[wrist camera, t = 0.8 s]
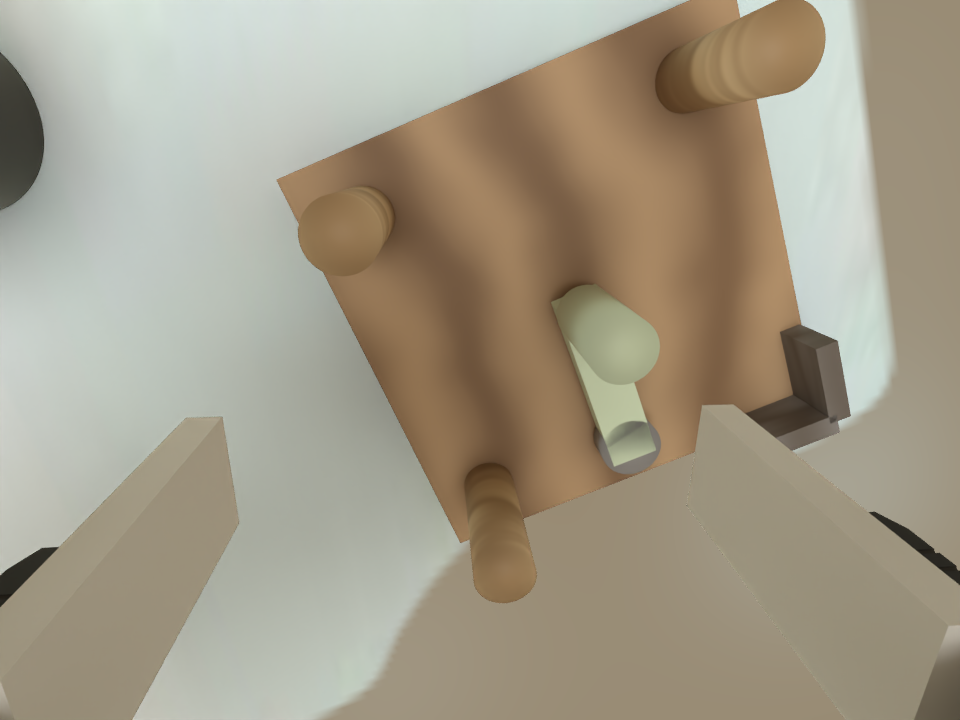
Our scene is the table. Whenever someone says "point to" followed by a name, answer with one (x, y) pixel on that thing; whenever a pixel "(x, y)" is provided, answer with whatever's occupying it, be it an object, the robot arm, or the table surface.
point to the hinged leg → (612, 372)
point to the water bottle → (17, 136)
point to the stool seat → (577, 262)
